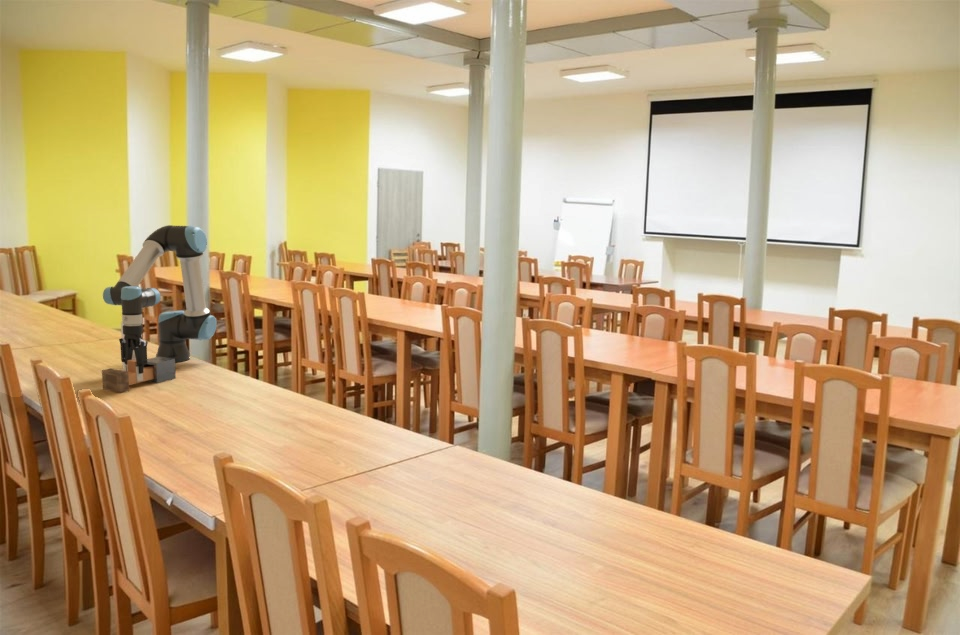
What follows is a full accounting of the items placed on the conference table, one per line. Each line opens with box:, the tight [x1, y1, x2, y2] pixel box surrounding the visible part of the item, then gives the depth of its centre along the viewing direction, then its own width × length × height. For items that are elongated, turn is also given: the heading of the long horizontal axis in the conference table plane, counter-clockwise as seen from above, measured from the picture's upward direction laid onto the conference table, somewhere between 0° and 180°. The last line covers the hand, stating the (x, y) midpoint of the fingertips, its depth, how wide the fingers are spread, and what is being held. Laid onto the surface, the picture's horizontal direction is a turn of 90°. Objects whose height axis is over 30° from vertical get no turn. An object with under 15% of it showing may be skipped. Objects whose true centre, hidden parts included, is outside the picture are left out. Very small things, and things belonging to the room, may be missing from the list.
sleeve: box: [143, 356, 177, 384], centre depth 321 cm, size 10×9×9 cm
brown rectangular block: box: [101, 368, 130, 394], centre depth 302 cm, size 4×10×8 cm, turn 66°
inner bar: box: [127, 359, 154, 386], centre depth 312 cm, size 20×4×9 cm, turn 156°
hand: (135, 380), depth 310 cm, fingers closed on inner bar, 4 cm apart
